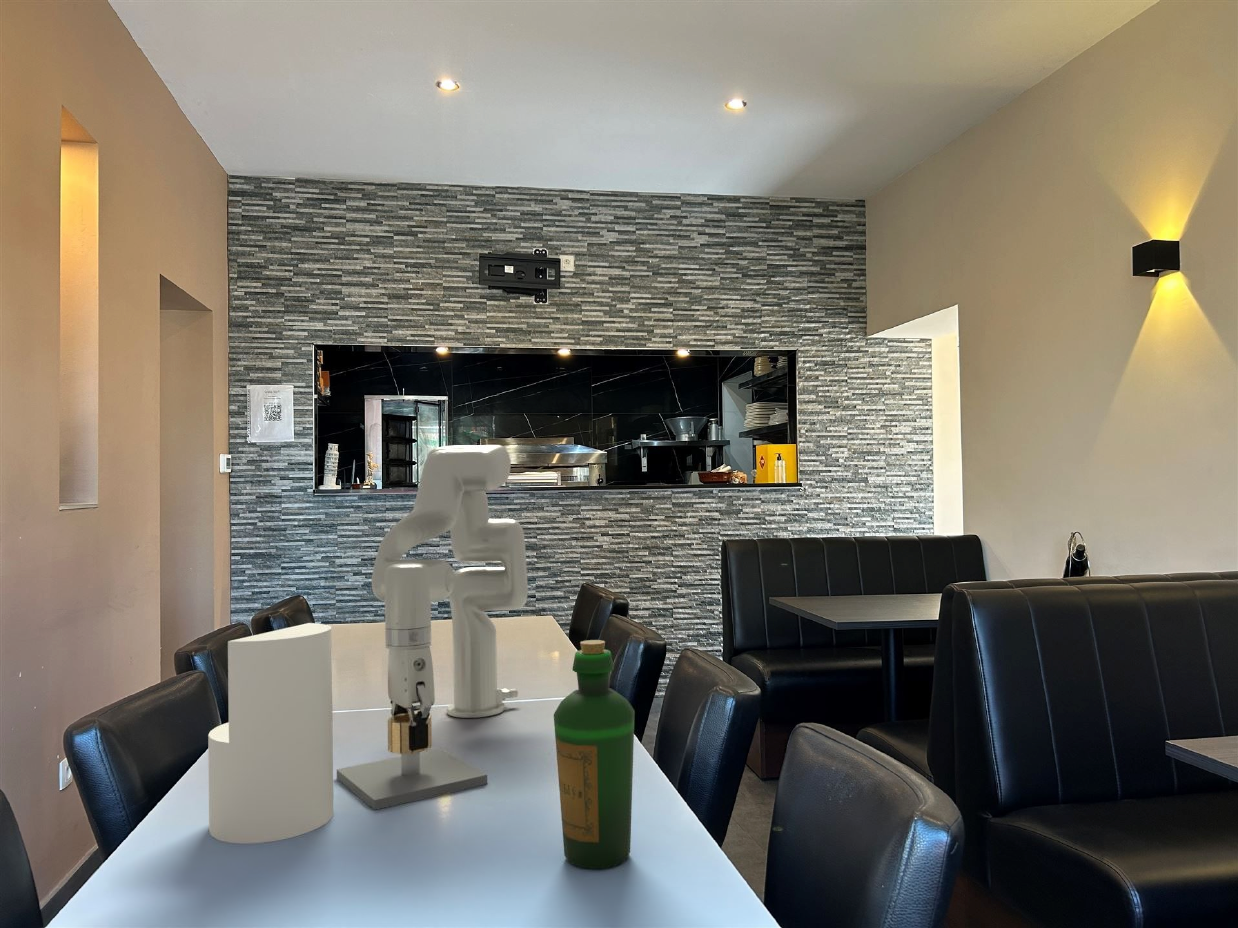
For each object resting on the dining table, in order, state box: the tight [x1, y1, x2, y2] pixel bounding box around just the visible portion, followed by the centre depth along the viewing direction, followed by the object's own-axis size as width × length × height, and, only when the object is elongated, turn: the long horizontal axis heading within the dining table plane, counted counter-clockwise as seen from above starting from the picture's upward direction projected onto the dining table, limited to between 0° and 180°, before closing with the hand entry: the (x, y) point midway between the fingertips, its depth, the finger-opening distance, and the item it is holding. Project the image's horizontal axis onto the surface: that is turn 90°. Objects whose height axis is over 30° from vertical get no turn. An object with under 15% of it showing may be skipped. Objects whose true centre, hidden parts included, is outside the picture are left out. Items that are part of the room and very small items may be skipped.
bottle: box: [553, 639, 636, 870], centre depth 115 cm, size 11×11×28 cm
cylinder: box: [207, 622, 335, 845], centre depth 131 cm, size 17×17×28 cm
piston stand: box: [336, 748, 488, 811], centre depth 147 cm, size 19×19×8 cm
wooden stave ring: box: [387, 711, 433, 755], centre depth 147 cm, size 7×7×5 cm
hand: (409, 743), depth 147 cm, fingers closed on wooden stave ring, 7 cm apart
